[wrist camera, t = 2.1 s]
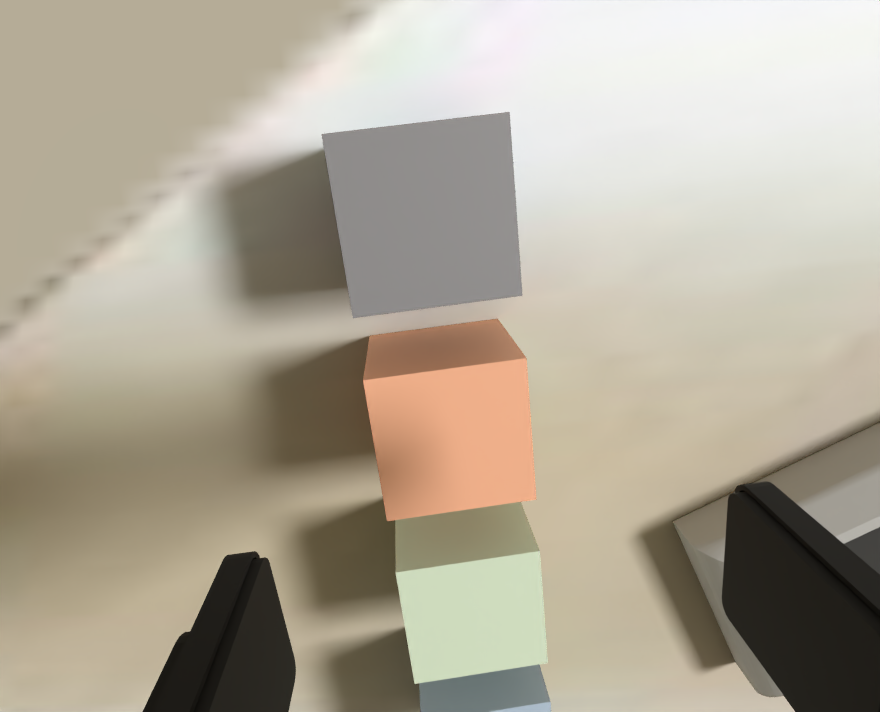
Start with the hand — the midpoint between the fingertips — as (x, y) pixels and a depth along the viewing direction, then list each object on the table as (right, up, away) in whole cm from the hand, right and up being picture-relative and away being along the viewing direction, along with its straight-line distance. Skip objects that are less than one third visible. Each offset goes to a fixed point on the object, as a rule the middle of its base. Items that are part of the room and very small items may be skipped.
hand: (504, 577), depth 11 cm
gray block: (-2, +10, +9) cm, 13 cm away
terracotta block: (-1, +3, +11) cm, 12 cm away
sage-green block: (0, -3, +13) cm, 14 cm away
